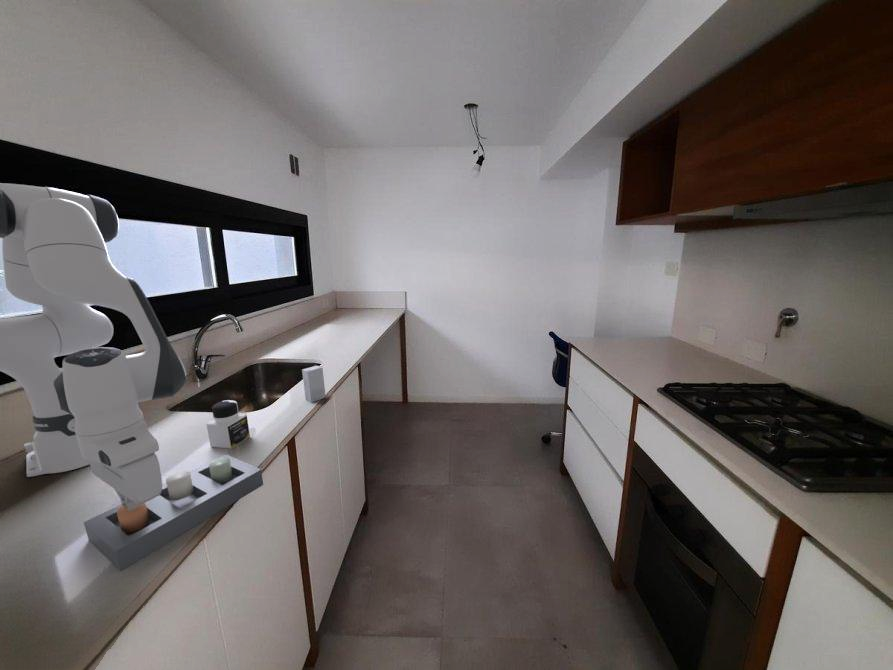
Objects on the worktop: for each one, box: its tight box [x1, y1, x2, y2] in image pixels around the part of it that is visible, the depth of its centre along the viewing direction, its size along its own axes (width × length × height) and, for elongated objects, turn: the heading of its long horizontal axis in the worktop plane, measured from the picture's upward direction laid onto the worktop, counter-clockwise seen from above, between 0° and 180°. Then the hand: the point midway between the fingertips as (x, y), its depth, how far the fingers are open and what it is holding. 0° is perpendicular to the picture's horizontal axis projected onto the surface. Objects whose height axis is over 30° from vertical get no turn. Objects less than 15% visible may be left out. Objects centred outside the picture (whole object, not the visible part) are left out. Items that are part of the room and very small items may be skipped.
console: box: [83, 453, 264, 572], centre depth 74 cm, size 14×26×4 cm, turn 151°
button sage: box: [209, 458, 233, 484], centre depth 80 cm, size 4×4×4 cm
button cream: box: [165, 470, 194, 500], centre depth 73 cm, size 4×4×4 cm
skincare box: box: [301, 365, 327, 403], centre depth 130 cm, size 6×4×12 cm
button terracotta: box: [117, 503, 149, 533], centre depth 66 cm, size 4×4×4 cm
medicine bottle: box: [206, 399, 251, 450], centre depth 100 cm, size 7×7×12 cm
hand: (131, 506), depth 66 cm, fingers closed, pressing on button terracotta
